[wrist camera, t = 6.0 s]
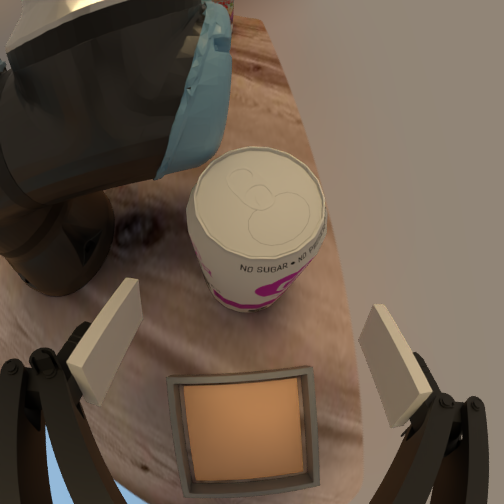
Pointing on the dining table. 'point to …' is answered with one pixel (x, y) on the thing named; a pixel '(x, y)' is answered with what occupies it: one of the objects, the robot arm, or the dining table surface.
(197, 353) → the dining table surface
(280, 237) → the supplement can
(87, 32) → the robot arm
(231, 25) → the milk bottle
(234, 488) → the tray
